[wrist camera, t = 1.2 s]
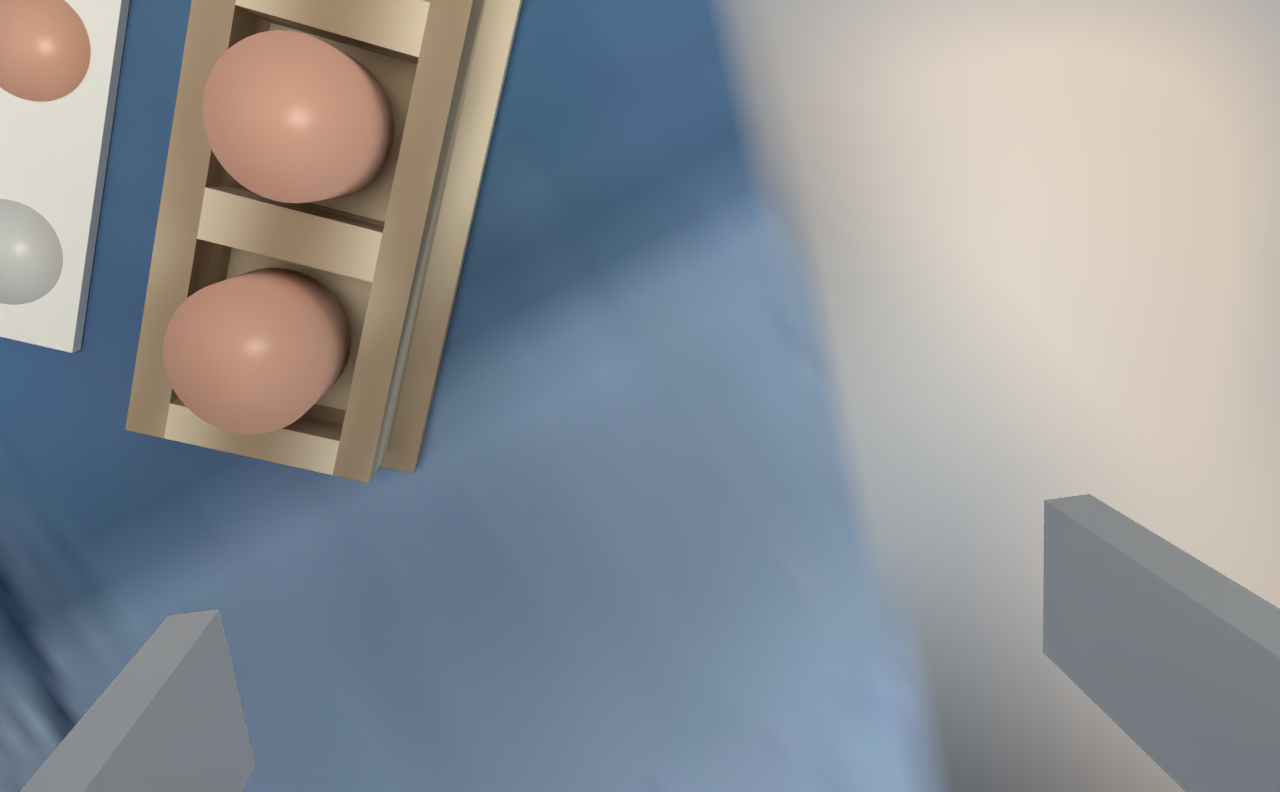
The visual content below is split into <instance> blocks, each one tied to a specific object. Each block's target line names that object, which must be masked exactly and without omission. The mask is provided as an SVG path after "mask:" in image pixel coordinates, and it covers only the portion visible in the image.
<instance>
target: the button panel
mask: <svg viewBox="0 0 1280 792" xmlns="http://www.w3.org/2000/svg"><path fill="white" fill-rule="evenodd" d="M522 1H523V0H192V2H191V8H190V15H189V21H188V28H187V34H186V41H185V47H184V54H183V60H182V67H181V73H180V80H179V86H178V92H177V99H176V105H175V112H174V118H173V125H172V131H171V138H170V144H169V151H168V157H167V164H166V170H165V177H164V183H163V189H162V196H161V202H160V209H159V215H158V222H157V228H156V235H155V241H154V248H153V254H152V261H151V267H150V274H149V280H148V286H147V293H146V299H145V306H144V312H143V319H142V325H141V332H140V338H139V345H138V351H137V358H136V364H135V370H134V377H133V383H132V390H131V396H130V403H129V409H128V416H127V422H126V429H125V430H128V431H133V432H137V433H142V434H146V435H151V436H156V437H160V438H165V439H169V440H174V441H178V442H183V443H188V444H192V445H197V446H201V447H206V448H210V449H215V450H220V451H224V452H229V453H233V454H238V455H242V456H247V457H252V458H256V459H261V460H265V461H270V462H274V463H279V464H284V465H288V466H293V467H297V468H302V469H306V470H311V471H316V472H320V473H325V474H329V475H334V476H338V477H343V478H348V479H352V480H357V481H361V482H366V483H369V482H370V481H371V479H372V477H373V475H374V474H375V472H376V470H377V469H378V467H379V466H381V467H386V468H390V469H395V470H399V471H404V472H408V473H413V474H414V472H415V469H416V467H417V465H418V461H419V456H420V452H421V447H422V443H423V438H424V434H425V430H426V425H427V421H428V416H429V412H430V407H431V403H432V399H433V394H434V390H435V385H436V381H437V377H438V372H439V368H440V363H441V359H442V354H443V350H444V346H445V341H446V337H447V332H448V328H449V323H450V319H451V315H452V310H453V306H454V301H455V297H456V293H457V288H458V284H459V279H460V275H461V270H462V266H463V262H464V257H465V253H466V248H467V244H468V239H469V235H470V231H471V226H472V222H473V217H474V213H475V209H476V204H477V200H478V195H479V191H480V186H481V182H482V178H483V173H484V169H485V164H486V160H487V155H488V151H489V147H490V142H491V138H492V133H493V129H494V125H495V120H496V116H497V111H498V107H499V102H500V98H501V94H502V89H503V85H504V80H505V76H506V71H507V67H508V63H509V58H510V54H511V49H512V45H513V41H514V36H515V32H516V27H517V23H518V18H519V14H520V10H521V5H522ZM276 30H285V31H294V32H299V33H303V34H306V35H309V36H312V37H315V38H317V39H319V40H321V41H323V42H325V43H327V44H329V45H330V46H332V47H334V48H336V49H338V50H340V51H342V52H343V53H345V54H347V55H349V56H351V57H353V58H354V59H356V60H357V61H359V62H360V63H361V64H363V65H364V66H365V67H366V68H367V69H368V70H369V71H370V72H371V73H372V74H373V75H374V76H375V77H376V78H377V80H378V81H379V83H380V84H381V86H382V87H383V89H384V91H385V93H386V95H387V97H388V100H389V102H390V105H391V109H392V113H393V119H394V139H393V145H392V149H391V153H390V155H389V157H388V160H387V162H386V164H385V165H384V167H383V169H382V170H381V172H380V173H379V174H378V175H377V177H376V178H375V179H374V180H373V181H371V182H370V183H369V184H368V185H367V186H365V187H364V188H362V189H361V190H359V191H357V192H355V193H353V194H350V195H347V196H344V197H339V198H334V199H327V200H321V201H314V202H307V203H284V202H279V201H274V200H271V199H268V198H265V197H262V196H260V195H258V194H256V193H253V192H252V191H250V190H248V189H247V188H245V187H244V186H242V185H241V184H240V183H239V182H237V181H236V180H235V179H234V178H233V177H232V176H231V175H230V174H229V173H228V172H227V171H226V170H225V169H224V168H223V166H222V165H221V164H220V162H219V161H218V159H217V158H216V156H215V154H214V153H213V151H212V149H211V147H210V144H209V142H208V139H207V136H206V133H205V130H204V124H203V117H202V102H203V94H204V89H205V85H206V82H207V80H208V77H209V74H210V73H211V71H212V69H213V67H214V65H215V64H216V62H217V61H218V60H219V59H220V57H221V56H222V55H223V54H224V53H225V52H226V51H227V50H228V49H229V48H230V47H232V46H233V45H235V44H236V43H237V42H239V41H241V40H243V39H245V38H247V37H249V36H251V35H254V34H257V33H261V32H266V31H276ZM262 268H285V269H291V270H294V271H298V272H301V273H303V274H305V275H308V276H310V277H312V278H313V279H315V280H316V281H318V282H319V283H321V284H322V285H323V286H325V287H326V288H327V289H328V290H329V291H330V292H331V293H332V294H333V295H334V297H335V298H336V299H337V301H338V302H339V303H340V305H341V307H342V309H343V310H344V313H345V315H346V317H347V320H348V324H349V327H350V334H351V349H350V356H349V359H348V363H347V365H346V367H345V370H344V372H343V373H342V375H341V376H340V378H339V379H338V381H337V382H336V383H335V384H334V385H333V386H332V387H331V388H330V389H329V390H328V391H327V392H326V393H325V394H324V395H323V396H322V397H321V398H320V399H319V400H318V401H317V402H316V403H315V404H314V405H313V406H312V407H311V408H310V409H309V410H308V411H307V412H306V413H305V414H304V415H302V416H301V417H300V418H299V419H298V420H296V421H295V422H293V423H292V424H290V425H288V426H286V427H284V428H282V429H279V430H276V431H273V432H268V433H263V434H239V433H233V432H229V431H226V430H222V429H220V428H217V427H215V426H212V425H210V424H209V423H207V422H205V421H203V420H202V419H200V418H199V417H198V416H196V415H195V414H194V413H193V412H191V411H190V410H189V409H188V408H187V407H186V406H185V405H184V403H183V402H182V401H181V400H180V399H179V397H178V396H177V394H176V393H175V391H174V390H173V388H172V386H171V384H170V382H169V379H168V376H167V373H166V370H165V365H164V360H163V344H164V337H165V333H166V329H167V327H168V324H169V322H170V320H171V318H172V316H173V314H174V313H175V311H176V310H177V309H178V308H179V306H180V305H181V304H182V303H183V302H184V301H185V300H186V299H187V298H188V297H190V296H191V295H192V294H194V293H195V292H197V291H199V290H201V289H202V288H204V287H206V286H209V285H212V284H215V283H218V282H221V281H224V280H227V279H230V278H233V277H235V276H238V275H241V274H244V273H247V272H250V271H253V270H257V269H262Z"/></svg>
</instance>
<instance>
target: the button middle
mask: <svg viewBox="0 0 1280 792" xmlns="http://www.w3.org/2000/svg"><path fill="white" fill-rule="evenodd" d="M202 117H203V124H204V130H205V133H206V136H207V139H208V142H209V144H210V147H211V149H212V151H213V153H214V154H215V156H216V158H217V159H218V161H219V162H220V164H221V165H222V166H223V168H224V169H225V170H226V171H227V172H228V173H229V174H230V175H231V176H232V177H233V178H234V179H235V180H236V181H237V182H239V183H240V184H241V185H242V186H244V187H245V188H247V189H248V190H250V191H252V192H253V193H256V194H258V195H260V196H262V197H265V198H268V199H271V200H274V201H279V202H284V203H307V202H314V201H321V200H327V199H334V198H339V197H344V196H347V195H350V194H353V193H355V192H357V191H359V190H361V189H362V188H364V187H365V186H367V185H368V184H369V183H370V182H371V181H373V180H374V179H375V178H376V177H377V175H378V174H379V173H380V172H381V170H382V169H383V167H384V165H385V164H386V162H387V160H388V157H389V155H390V153H391V149H392V145H393V139H394V119H393V113H392V109H391V105H390V102H389V100H388V97H387V95H386V93H385V91H384V89H383V87H382V86H381V84H380V83H379V81H378V80H377V78H376V77H375V76H374V75H373V74H372V73H371V72H370V71H369V70H368V69H367V68H366V67H365V66H364V65H363V64H361V63H360V62H359V61H357V60H356V59H354V58H353V57H351V56H349V55H347V54H345V53H343V52H342V51H340V50H338V49H336V48H334V47H332V46H330V45H329V44H327V43H325V42H323V41H321V40H319V39H317V38H315V37H312V36H309V35H306V34H303V33H299V32H294V31H285V30H276V31H266V32H261V33H257V34H254V35H251V36H249V37H247V38H245V39H243V40H241V41H239V42H237V43H236V44H235V45H233V46H232V47H230V48H229V49H228V50H227V51H226V52H225V53H224V54H223V55H222V56H221V57H220V59H219V60H218V61H217V62H216V64H215V65H214V67H213V69H212V71H211V73H210V74H209V77H208V80H207V82H206V85H205V89H204V94H203V102H202Z"/></svg>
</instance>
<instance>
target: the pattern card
mask: <svg viewBox="0 0 1280 792" xmlns="http://www.w3.org/2000/svg"><path fill="white" fill-rule="evenodd" d="M129 4H130V0H0V337H5V338H9V339H13V340H18V341H22V342H27V343H31V344H35V345H40V346H44V347H48V348H53V349H57V350H62V351H66V352H70V353H73V352H76V351H79V350H81V343H82V336H83V329H84V322H85V315H86V308H87V301H88V294H89V287H90V280H91V273H92V266H93V259H94V251H95V244H96V237H97V230H98V223H99V216H100V209H101V202H102V195H103V188H104V181H105V174H106V167H107V159H108V152H109V145H110V138H111V131H112V124H113V117H114V110H115V103H116V96H117V89H118V82H119V75H120V67H121V60H122V53H123V46H124V39H125V32H126V25H127V18H128V11H129Z"/></svg>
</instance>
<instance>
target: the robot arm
mask: <svg viewBox="0 0 1280 792" xmlns="http://www.w3.org/2000/svg"><path fill="white" fill-rule="evenodd" d="M1044 504H1045V505H1044V608H1043V613H1044V614H1043V615H1044V616H1043V652H1044V654H1046V656H1047V657H1049V658H1050V659H1051V660H1052V661H1053V662H1054V663H1055V664H1056V665H1057V666H1058V667H1059V668H1060V669H1061V670H1062V671H1063V672H1064V673H1065V674H1066V675H1067V676H1068V677H1069V678H1070V679H1071V680H1072V681H1073V682H1074V683H1075V684H1076V685H1077V686H1078V687H1079V688H1080V689H1081V690H1082V691H1083V692H1084V693H1085V694H1086V695H1087V696H1088V697H1089V698H1090V699H1091V700H1092V701H1094V702H1095V703H1096V704H1097V705H1098V706H1099V707H1100V708H1101V709H1102V710H1103V711H1104V712H1105V713H1106V714H1107V715H1108V716H1109V717H1110V718H1111V719H1112V720H1113V721H1114V722H1115V723H1116V724H1117V725H1118V726H1119V727H1120V728H1121V729H1122V730H1123V731H1124V732H1125V733H1126V734H1127V735H1128V736H1129V737H1130V738H1131V739H1132V740H1133V741H1134V742H1135V743H1136V744H1138V745H1139V746H1140V747H1141V748H1142V749H1143V750H1144V751H1145V752H1146V753H1147V754H1148V755H1149V756H1150V757H1151V758H1152V759H1153V760H1154V761H1155V762H1156V763H1157V764H1158V765H1159V766H1160V767H1161V768H1162V769H1163V770H1164V771H1165V772H1166V773H1167V774H1168V775H1169V776H1170V777H1171V778H1172V779H1173V780H1174V781H1175V782H1176V783H1177V784H1178V785H1180V786H1181V787H1182V788H1183V789H1184V790H1185V791H1186V792H1280V609H1279V608H1277V607H1276V606H1274V605H1272V604H1271V603H1269V602H1268V601H1266V600H1264V599H1263V598H1261V597H1259V596H1258V595H1256V594H1254V593H1253V592H1251V591H1249V590H1248V589H1246V588H1244V587H1242V586H1241V585H1239V584H1238V583H1236V582H1234V581H1233V580H1231V579H1229V578H1227V577H1226V576H1224V575H1223V574H1221V573H1219V572H1218V571H1216V570H1214V569H1213V568H1211V567H1209V566H1208V565H1206V564H1204V563H1203V562H1201V561H1199V560H1198V559H1196V558H1195V557H1193V556H1191V555H1190V554H1188V553H1186V552H1184V551H1183V550H1181V549H1180V548H1178V547H1176V546H1175V545H1173V544H1171V543H1170V542H1168V541H1166V540H1164V539H1163V538H1161V537H1160V536H1158V535H1156V534H1155V533H1153V532H1151V531H1150V530H1148V529H1146V528H1145V527H1143V526H1141V525H1140V524H1138V523H1136V522H1135V521H1133V520H1131V519H1130V518H1128V517H1126V516H1125V515H1123V514H1122V513H1120V512H1118V511H1116V510H1115V509H1113V508H1111V507H1110V506H1108V505H1107V504H1105V503H1103V502H1102V501H1100V500H1098V499H1097V498H1095V497H1093V496H1092V495H1090V494H1087V495H1080V496H1072V497H1065V498H1057V499H1050V500H1044ZM254 767H255V761H254V757H253V752H252V748H251V744H250V739H249V735H248V730H247V726H246V722H245V717H244V713H243V709H242V704H241V700H240V696H239V691H238V687H237V683H236V678H235V674H234V670H233V665H232V661H231V657H230V652H229V648H228V644H227V639H226V635H225V631H224V626H223V622H222V617H221V613H220V609H214V610H207V611H199V612H191V613H184V614H176V615H169V616H167V617H166V619H165V620H164V621H163V622H162V623H161V625H160V626H159V627H158V628H157V629H156V630H155V632H154V633H153V634H152V635H151V636H150V638H149V639H148V640H147V641H146V642H145V644H144V645H143V646H142V647H141V648H140V649H139V651H138V652H137V653H136V654H135V655H134V657H133V658H132V659H131V660H130V661H129V662H128V664H127V665H126V666H125V667H124V668H123V670H122V671H121V672H120V673H119V674H118V675H117V677H116V678H115V679H114V680H113V681H112V683H111V684H110V685H109V686H108V687H107V688H106V690H105V691H104V692H103V693H102V694H101V696H100V697H99V698H98V699H97V700H96V702H95V703H94V704H93V705H92V706H91V707H90V709H89V710H88V711H87V712H86V713H85V715H84V716H83V717H82V718H81V719H80V720H79V722H78V723H77V724H76V725H75V726H74V728H73V729H72V730H71V731H70V732H69V733H68V735H67V736H66V737H65V738H64V739H63V741H62V742H61V743H60V744H59V745H58V746H57V748H56V749H55V750H54V751H53V752H52V754H51V755H50V756H49V757H48V758H47V759H46V761H45V762H44V763H43V764H42V765H41V767H40V768H39V769H38V770H37V771H36V773H35V774H34V775H33V776H32V777H31V778H30V780H29V781H28V782H27V783H26V784H25V786H24V787H23V788H22V789H21V790H20V791H19V792H243V790H244V788H245V786H246V784H247V782H248V780H249V778H250V776H251V773H252V771H253V769H254Z"/></svg>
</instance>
